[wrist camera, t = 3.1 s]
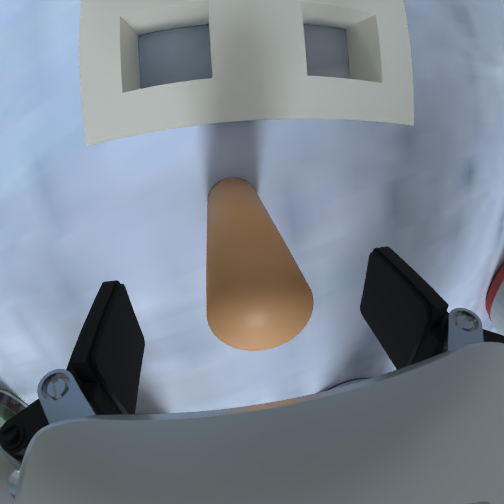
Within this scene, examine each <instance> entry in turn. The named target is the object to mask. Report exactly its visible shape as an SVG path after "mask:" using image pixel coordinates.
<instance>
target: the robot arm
mask: <svg viewBox="0 0 504 504" xmlns="http://www.w3.org/2000/svg"><path fill="white" fill-rule="evenodd" d="M447 308H448V304H447V303H446V302H445V301H444V300H443V299H442V298H441V297H440V296H439V295H438V293H437V292H436V291H435V290H434V289H433V288H432V287H431V286H430V285H429V284H428V283H427V282H426V281H425V280H423V279H422V278H421V277H420V276H419V275H418V274H417V273H416V272H415V271H414V270H413V269H412V268H411V267H410V266H409V265H408V264H407V263H406V262H405V261H404V260H403V259H401V258H400V257H399V256H398V255H397V254H396V253H395V252H394V251H393V250H392V249H391V248H389V247H380V248H375V249H374V250H373V252H371V253H370V255H369V261H368V267H367V273H366V279H365V284H364V290H363V295H362V300H361V305H360V311H361V314H362V316H363V317H364V319H365V320H366V322H367V323H368V325H369V326H370V328H371V329H372V331H373V333H374V334H375V336H376V337H377V339H378V340H379V342H380V343H381V345H382V347H383V348H384V350H385V351H386V353H387V354H388V356H389V358H390V359H391V361H392V362H393V364H394V366H395V367H396V369H397V370H396V371H393V372H390V373H387V374H384V375H381V376H377V377H374V378H371V379H359V380H353V381H350V382H346V383H343V384H341V385H338V386H336V387H334V388H332V389H330V390H328V391H324V392H320V393H315V394H311V395H306V396H302V397H297V398H292V399H287V400H282V401H276V402H271V403H265V404H258V405H252V406H245V407H237V408H229V409H221V410H211V411H200V412H186V413H167V414H135V409H136V401H137V393H138V385H139V378H140V372H141V365H142V359H143V353H144V347H145V341H144V337H143V334H142V331H141V329H140V326H139V324H138V321H137V319H136V316H135V313H134V311H133V308H132V305H131V302H130V299H129V297H128V294H127V291H126V288H125V286H124V284H120V283H119V281H108V282H103V283H102V285H101V287H100V289H99V292H98V294H97V296H96V298H95V300H94V302H93V305H92V307H91V309H90V311H89V314H88V316H87V318H86V321H85V323H84V325H83V328H82V330H81V332H80V335H79V337H78V340H77V342H76V345H75V347H74V350H73V353H72V355H71V358H70V361H69V363H68V366H67V369H66V370H65V369H56V370H53V371H50V372H49V373H47V374H46V375H45V376H44V377H43V378H42V379H41V381H40V383H39V385H38V390H37V392H38V397H39V399H38V400H36V401H35V402H33V403H32V404H30V405H29V406H27V407H26V408H25V409H23V410H22V411H20V412H19V413H17V414H16V415H15V416H13V417H12V418H10V419H9V420H7V421H6V422H5V423H4V424H3V426H2V427H1V430H0V504H504V336H503V335H500V334H497V333H493V332H490V331H487V330H484V329H482V323H481V320H480V318H479V317H478V316H477V315H476V314H475V313H474V312H472V311H470V310H468V309H465V308H455V309H453V310H452V311H451V312H450V313H448V312H447Z"/></svg>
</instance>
